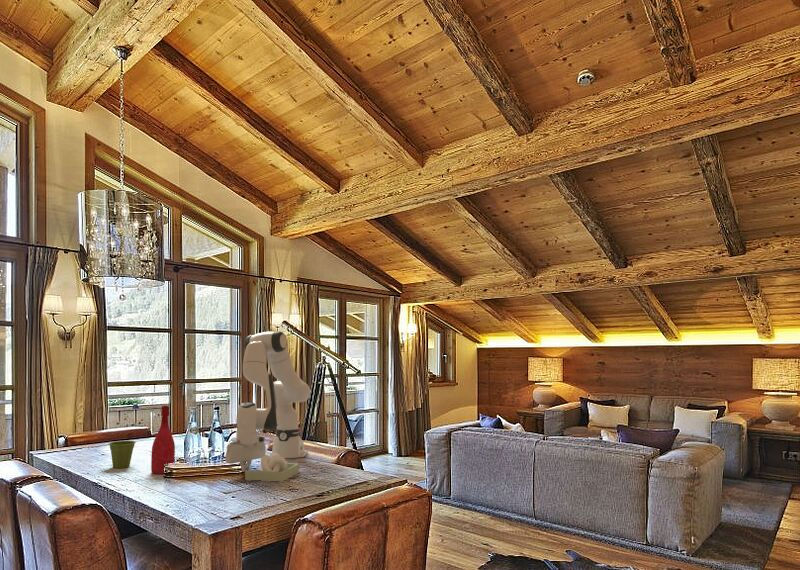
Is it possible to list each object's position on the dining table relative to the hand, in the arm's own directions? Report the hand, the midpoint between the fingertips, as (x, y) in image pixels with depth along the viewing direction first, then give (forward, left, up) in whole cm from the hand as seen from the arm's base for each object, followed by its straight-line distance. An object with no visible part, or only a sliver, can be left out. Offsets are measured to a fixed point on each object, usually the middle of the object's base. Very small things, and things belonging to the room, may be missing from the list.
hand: (245, 470), depth 267 cm
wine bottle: (+4, -38, -2) cm, 39 cm away
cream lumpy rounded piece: (-1, +12, -2) cm, 12 cm away
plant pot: (-3, -64, -2) cm, 64 cm away
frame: (0, +13, -2) cm, 13 cm away
